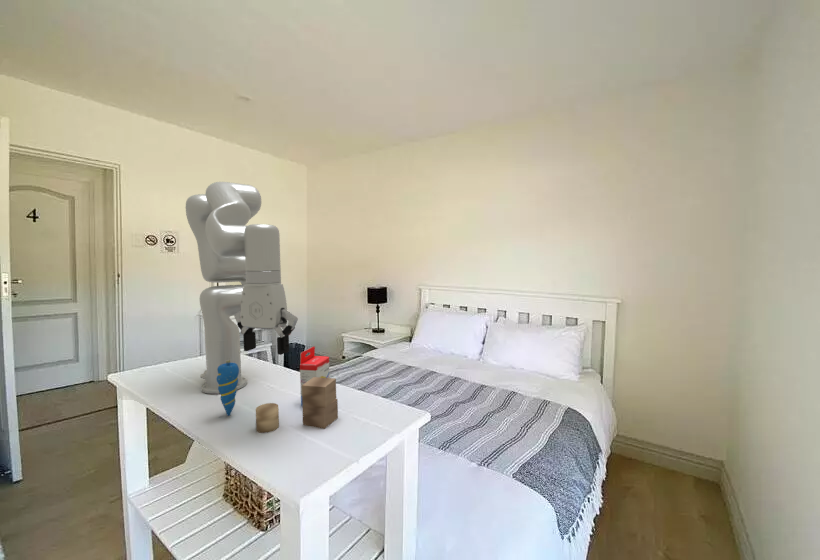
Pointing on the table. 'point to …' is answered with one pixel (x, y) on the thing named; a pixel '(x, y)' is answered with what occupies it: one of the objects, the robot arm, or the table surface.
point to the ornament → (228, 384)
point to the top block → (319, 392)
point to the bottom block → (320, 415)
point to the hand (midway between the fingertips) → (266, 351)
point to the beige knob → (267, 418)
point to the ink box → (312, 366)
